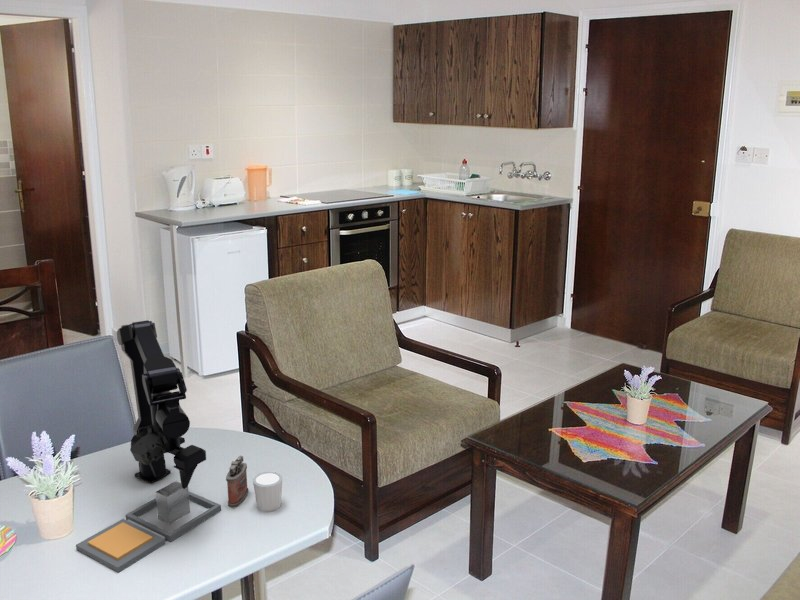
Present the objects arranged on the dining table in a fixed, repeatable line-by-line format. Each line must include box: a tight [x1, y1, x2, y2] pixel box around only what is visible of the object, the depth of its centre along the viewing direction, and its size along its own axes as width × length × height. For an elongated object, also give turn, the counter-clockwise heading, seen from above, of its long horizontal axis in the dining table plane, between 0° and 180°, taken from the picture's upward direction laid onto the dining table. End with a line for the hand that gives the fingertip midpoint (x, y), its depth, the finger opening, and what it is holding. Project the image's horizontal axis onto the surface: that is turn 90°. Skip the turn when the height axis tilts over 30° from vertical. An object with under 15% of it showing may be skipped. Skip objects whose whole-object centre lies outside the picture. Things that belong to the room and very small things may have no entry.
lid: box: [75, 518, 166, 573], centre depth 164 cm, size 14×13×2 cm
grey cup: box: [252, 471, 283, 513], centre depth 179 cm, size 7×7×7 cm
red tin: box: [225, 455, 249, 509], centre depth 182 cm, size 8×3×10 cm, turn 168°
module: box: [154, 480, 191, 525], centre depth 175 cm, size 4×6×8 cm, turn 147°
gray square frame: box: [124, 490, 222, 543], centre depth 176 cm, size 15×15×2 cm
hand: (171, 482), depth 173 cm, fingers open, 9 cm apart
